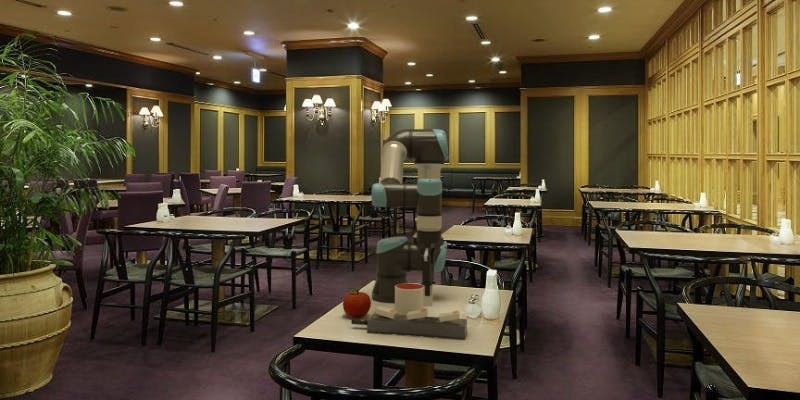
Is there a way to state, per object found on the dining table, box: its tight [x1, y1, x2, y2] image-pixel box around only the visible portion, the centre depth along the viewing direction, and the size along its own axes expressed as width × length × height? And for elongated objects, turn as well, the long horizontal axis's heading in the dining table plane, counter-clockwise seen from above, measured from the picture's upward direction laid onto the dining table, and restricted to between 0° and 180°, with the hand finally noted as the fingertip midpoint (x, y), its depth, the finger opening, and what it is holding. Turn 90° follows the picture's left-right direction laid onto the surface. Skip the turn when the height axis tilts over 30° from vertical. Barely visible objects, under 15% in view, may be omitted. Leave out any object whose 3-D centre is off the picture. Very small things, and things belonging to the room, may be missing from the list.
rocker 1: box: [374, 305, 397, 319], centre depth 183 cm, size 4×6×2 cm, turn 79°
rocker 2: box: [407, 308, 429, 320], centre depth 181 cm, size 4×6×2 cm, turn 79°
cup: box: [394, 282, 425, 315], centre depth 201 cm, size 10×10×10 cm
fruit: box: [342, 287, 372, 319], centre depth 198 cm, size 10×10×10 cm
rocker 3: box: [438, 310, 461, 322], centre depth 179 cm, size 4×6×2 cm, turn 79°
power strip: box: [351, 312, 468, 341], centre depth 182 cm, size 8×36×4 cm, turn 79°
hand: (427, 305), depth 180 cm, fingers closed
